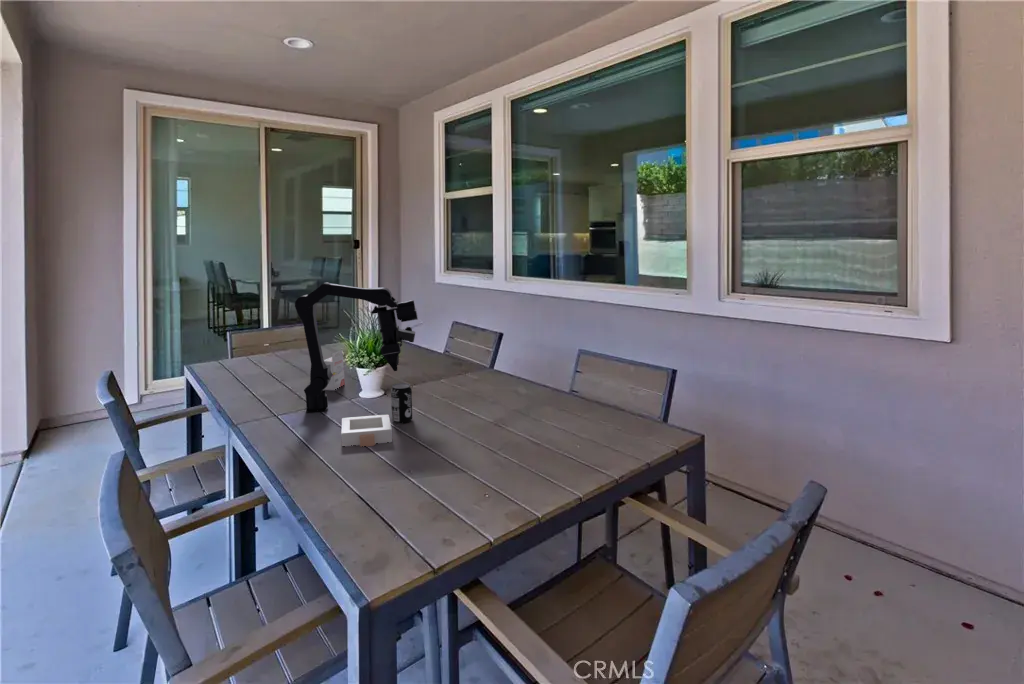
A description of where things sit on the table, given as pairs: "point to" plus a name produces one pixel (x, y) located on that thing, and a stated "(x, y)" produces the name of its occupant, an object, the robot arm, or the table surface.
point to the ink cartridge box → (336, 371)
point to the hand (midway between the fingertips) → (396, 367)
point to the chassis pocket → (366, 430)
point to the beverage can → (401, 403)
